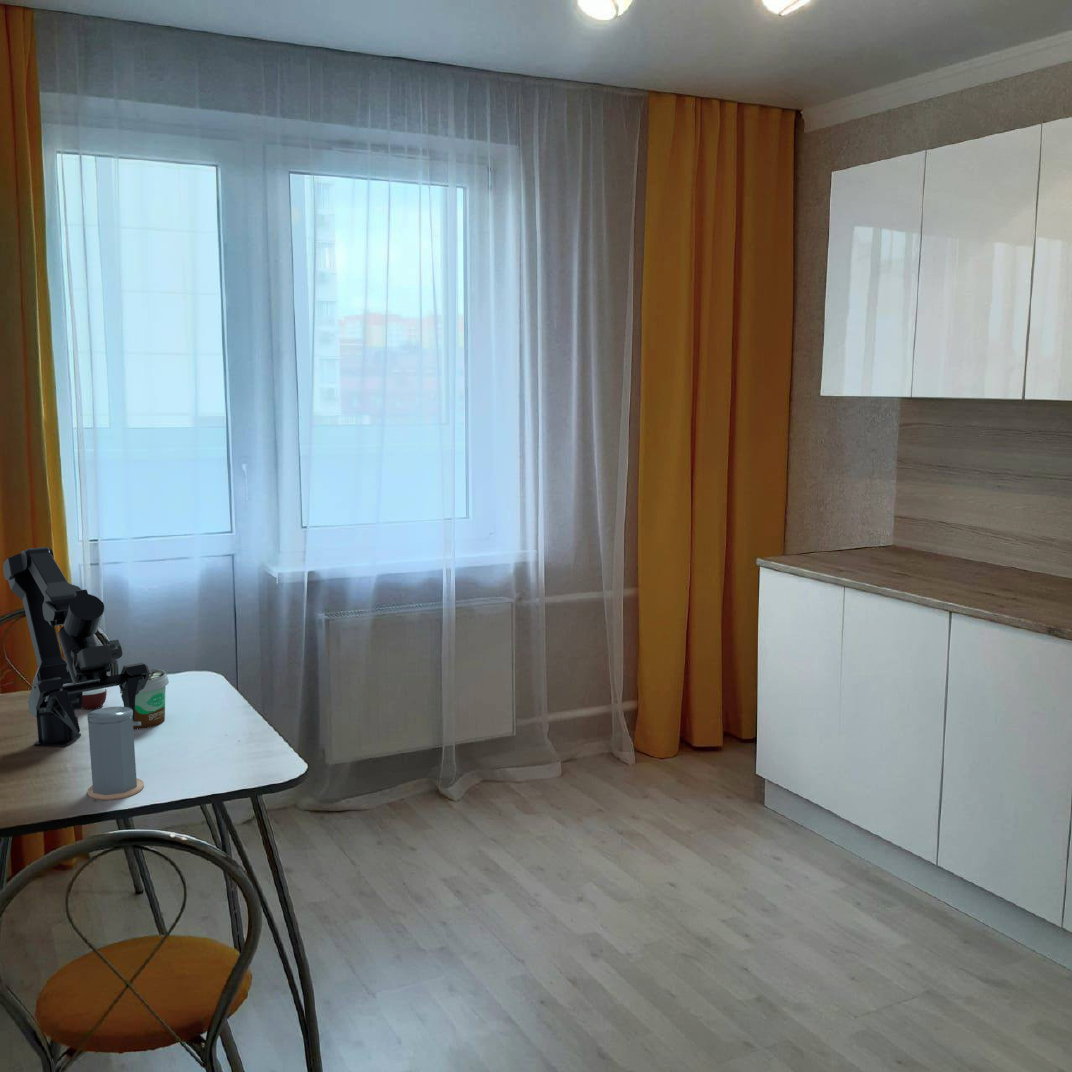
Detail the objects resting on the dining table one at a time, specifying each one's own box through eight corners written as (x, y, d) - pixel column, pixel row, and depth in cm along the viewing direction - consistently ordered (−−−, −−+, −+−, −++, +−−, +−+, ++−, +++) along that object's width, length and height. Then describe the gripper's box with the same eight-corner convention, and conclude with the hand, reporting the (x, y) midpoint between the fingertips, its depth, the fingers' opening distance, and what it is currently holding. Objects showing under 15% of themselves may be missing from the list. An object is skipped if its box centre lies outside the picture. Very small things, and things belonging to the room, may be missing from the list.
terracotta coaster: (78, 799, 180) (77, 796, 180) (103, 779, 189) (102, 776, 188) (129, 800, 179) (129, 797, 179) (152, 780, 188) (152, 777, 188)
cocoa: (76, 705, 234) (70, 652, 232) (107, 700, 236) (101, 647, 235) (77, 715, 225) (70, 660, 224) (109, 710, 228) (103, 655, 226)
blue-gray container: (83, 791, 182) (77, 716, 180) (114, 776, 188) (110, 704, 187) (115, 797, 179) (110, 721, 177) (146, 782, 186) (141, 709, 184)
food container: (150, 733, 213) (147, 685, 212) (122, 731, 215) (119, 683, 213) (182, 714, 225) (179, 668, 224) (156, 713, 227) (153, 667, 225)
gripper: (32, 635, 180) (57, 713, 173) (143, 618, 192) (170, 691, 185) (23, 670, 187) (46, 747, 181) (130, 652, 199) (155, 724, 192)
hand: (106, 726), depth 184 cm, fingers open, 9 cm apart
